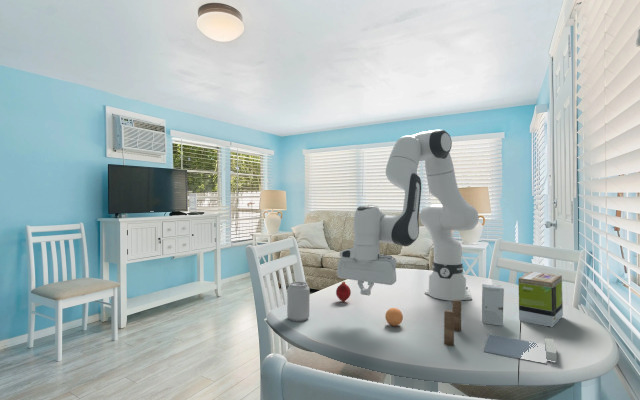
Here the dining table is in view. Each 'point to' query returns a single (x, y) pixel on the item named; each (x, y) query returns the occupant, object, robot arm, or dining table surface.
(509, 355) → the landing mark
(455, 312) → the post
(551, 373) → the dining table surface
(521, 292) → the tea box
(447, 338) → the post
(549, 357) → the stopper wall
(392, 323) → the ball
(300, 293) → the can
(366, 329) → the dining table surface
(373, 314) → the dining table surface
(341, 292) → the onion
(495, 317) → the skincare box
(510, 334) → the dining table surface
